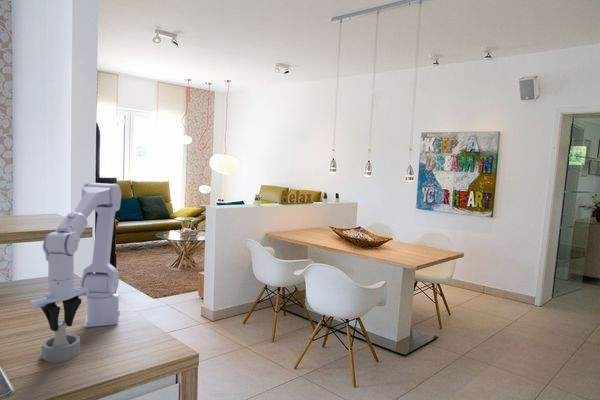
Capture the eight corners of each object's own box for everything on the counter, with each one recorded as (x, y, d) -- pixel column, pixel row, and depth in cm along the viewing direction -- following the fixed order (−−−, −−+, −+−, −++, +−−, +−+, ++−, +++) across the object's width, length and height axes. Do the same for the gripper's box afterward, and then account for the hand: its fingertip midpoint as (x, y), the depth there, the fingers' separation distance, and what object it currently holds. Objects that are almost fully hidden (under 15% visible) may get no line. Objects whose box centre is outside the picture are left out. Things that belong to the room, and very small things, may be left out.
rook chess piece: (60, 346, 114) (61, 318, 113) (73, 349, 113) (74, 321, 112) (46, 353, 110) (46, 324, 109) (59, 356, 108) (59, 327, 107)
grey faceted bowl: (81, 344, 117) (81, 332, 116) (78, 359, 109) (78, 346, 108) (45, 348, 113) (45, 336, 113) (39, 363, 105) (39, 350, 105)
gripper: (78, 269, 117) (78, 315, 118) (23, 281, 104) (23, 333, 106) (94, 273, 114) (93, 321, 115) (39, 286, 101) (39, 340, 102)
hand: (61, 327), depth 110 cm, fingers closed on rook chess piece, 3 cm apart
